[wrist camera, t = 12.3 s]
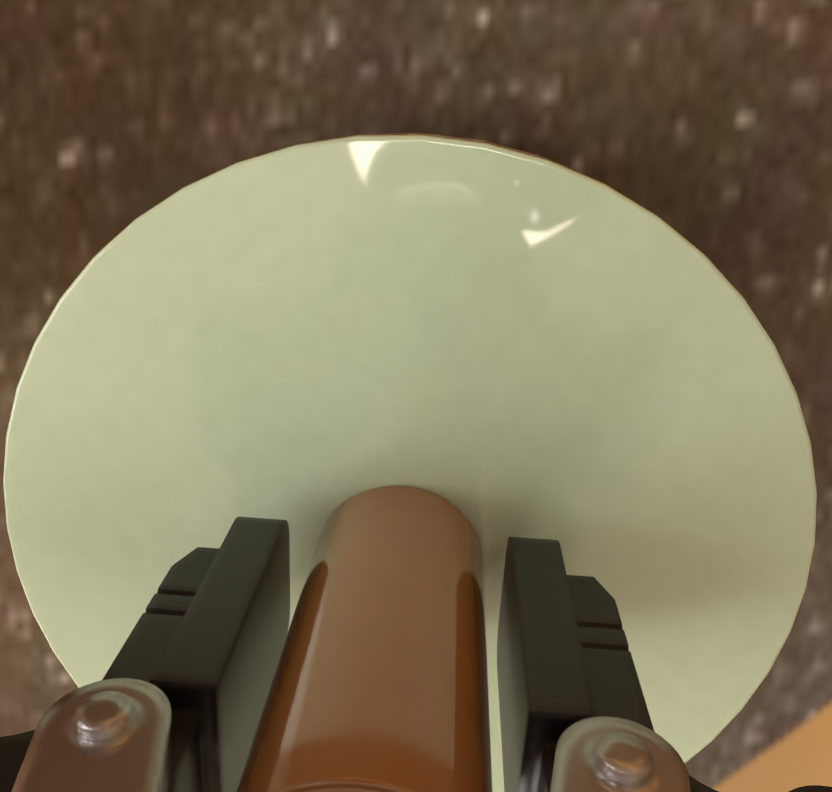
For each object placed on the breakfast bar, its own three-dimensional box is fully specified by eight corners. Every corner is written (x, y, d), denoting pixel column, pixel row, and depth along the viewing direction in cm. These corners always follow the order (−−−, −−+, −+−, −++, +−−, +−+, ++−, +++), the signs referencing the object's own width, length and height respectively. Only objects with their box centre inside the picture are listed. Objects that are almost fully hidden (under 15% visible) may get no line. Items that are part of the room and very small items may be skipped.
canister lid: (877, 156, 11) (1425, 243, 5) (709, 822, 16) (873, 1314, 9) (-11, 105, 11) (-583, 123, 5) (80, 768, 16) (-167, 1202, 10)
